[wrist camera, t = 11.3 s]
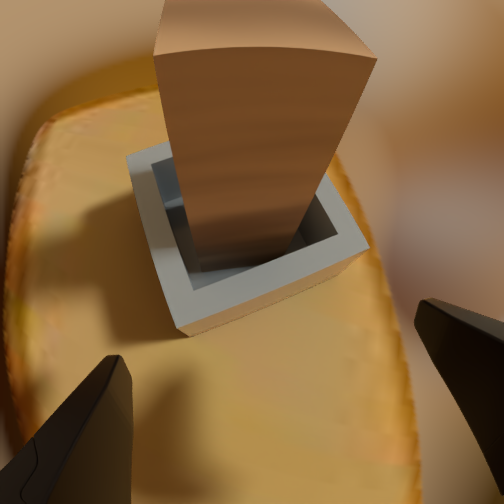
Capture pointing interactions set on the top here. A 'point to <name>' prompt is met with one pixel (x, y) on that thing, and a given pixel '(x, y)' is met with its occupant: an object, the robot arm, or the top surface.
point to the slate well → (243, 278)
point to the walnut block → (254, 116)
